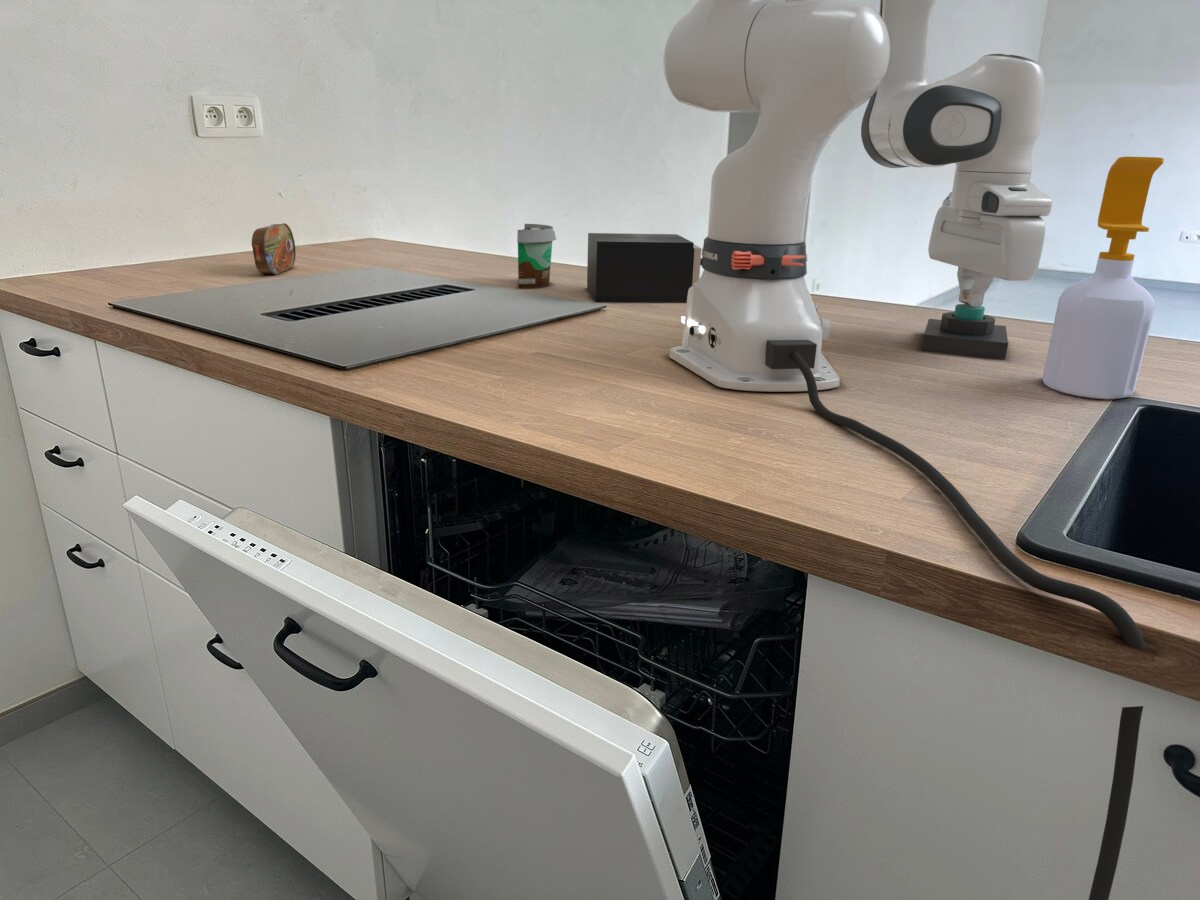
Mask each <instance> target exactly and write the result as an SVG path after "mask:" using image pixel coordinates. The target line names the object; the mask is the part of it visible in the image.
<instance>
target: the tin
mask: <svg viewBox="0 0 1200 900" xmlns="http://www.w3.org/2000/svg"><path fill="white" fill-rule="evenodd" d="M251 248H252V254H253V258H254V265H255V267H256V269H257V271H258V272H259V274H262V275H276V276H277V275H279V274H281V273H284V272H286V271H288V270H291V269H292V268H293V267H294V266H295V262H296V257H297V256H296V242H295V238H294V234H293V231H292V229H291V227H290V225H289V224H288V223H285V222H283V223H275V224H269V225H265V226H263V227H260V228H257V229H255V230H254V231H253V234H252V237H251Z"/></svg>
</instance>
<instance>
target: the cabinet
mask: <svg viewBox="0 0 1200 900" xmlns="http://www.w3.org/2000/svg"><path fill="white" fill-rule="evenodd" d="M694 245H695V243H694V242H693V241H691V240H690V239H688V238H686V237H683V236H681V235H679V234H677V233H621V232H620V233H617V232H615V233H613V232H609V233H608V232H588V233H587V269H586V271H587V272H586V273H587V274H586V290H587V291H588V293H589V294H590V295H591V297H592V299H593V300H594V302H596V303H687V296H688V290H689V288H690V287H691V278H692V262H693V246H694Z"/></svg>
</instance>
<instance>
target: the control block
mask: <svg viewBox="0 0 1200 900" xmlns="http://www.w3.org/2000/svg"><path fill="white" fill-rule="evenodd" d="M954 312H955V311H948V312H942V314H941V318H940V319H937V318H928V320H927V324H926V327H925V329H924V333H923V336H922V337H923V338H922V344H921V351H922V352H930V353H939V354H948V355H957V356H966V357H976V358H986V359H993V360H1004V361H1005V360H1006V357H1007V353H1008V347H1009V339H1008V331H1007V326H1006V325H999V324H996V318H995V317H993V316H990V315H987V314H984V316H983V320H969V319H961V318H956V317H954Z"/></svg>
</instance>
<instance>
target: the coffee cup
mask: <svg viewBox="0 0 1200 900" xmlns="http://www.w3.org/2000/svg"><path fill="white" fill-rule="evenodd" d="M516 235H517V274H518V275H517V280H518V284H517V285H518V289H538V288H545V287H548V286H549V285H550V277H551V264H552V250H553V242H554V241H557V237H556V231H555V230H554V227H553V226H552V225H547V224H541V223H524V229H517V234H516Z"/></svg>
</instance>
